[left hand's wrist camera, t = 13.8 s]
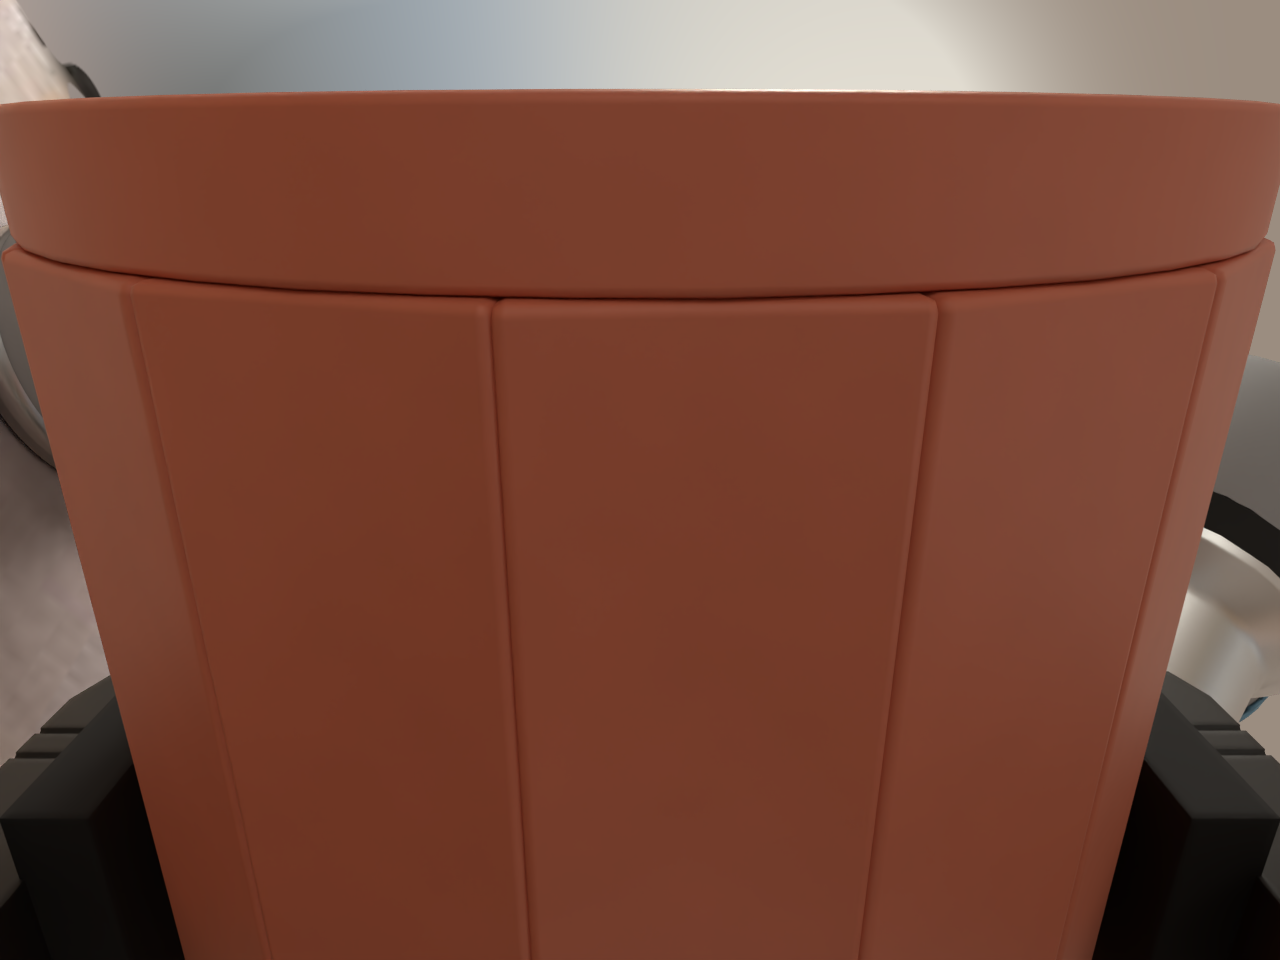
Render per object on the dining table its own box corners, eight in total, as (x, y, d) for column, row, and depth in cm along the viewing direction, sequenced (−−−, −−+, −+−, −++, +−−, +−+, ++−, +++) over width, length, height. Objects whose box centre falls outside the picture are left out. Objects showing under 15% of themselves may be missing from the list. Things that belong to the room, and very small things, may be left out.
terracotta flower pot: (1877, 91, 3) (1208, 1502, 8) (948, 125, 12) (871, 776, 16) (-668, 81, 3) (102, 1621, 7) (264, 125, 11) (363, 802, 16)
